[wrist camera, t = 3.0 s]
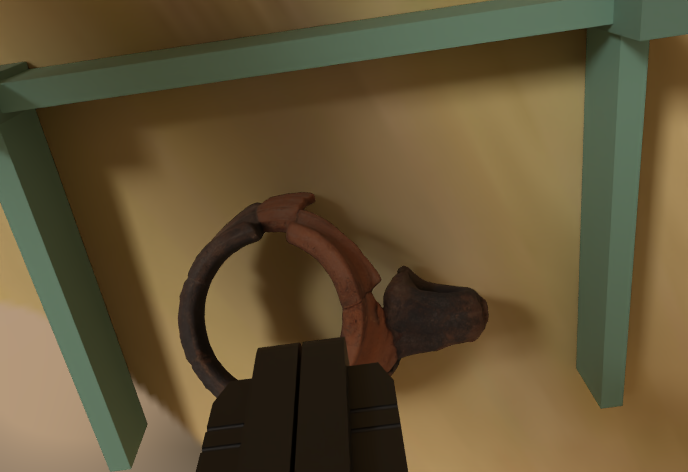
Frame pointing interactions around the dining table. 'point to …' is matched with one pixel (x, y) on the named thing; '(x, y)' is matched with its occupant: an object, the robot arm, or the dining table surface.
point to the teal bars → (310, 52)
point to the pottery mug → (352, 287)
